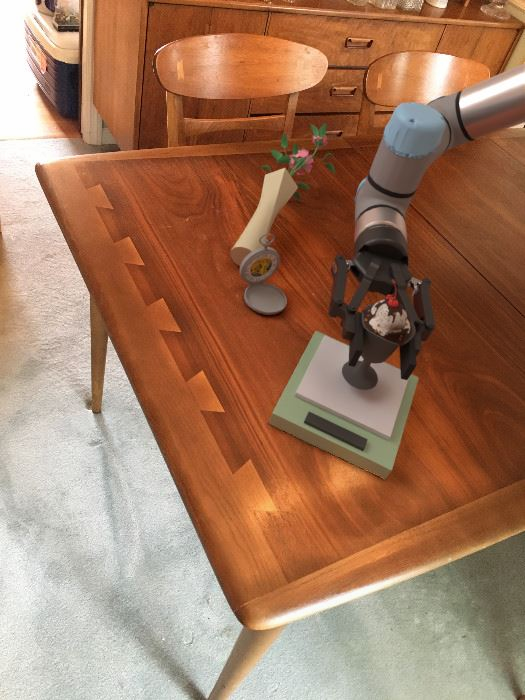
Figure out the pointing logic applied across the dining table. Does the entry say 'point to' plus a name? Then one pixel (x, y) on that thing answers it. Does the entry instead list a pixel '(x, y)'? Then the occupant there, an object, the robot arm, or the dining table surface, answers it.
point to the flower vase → (277, 193)
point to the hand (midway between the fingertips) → (382, 365)
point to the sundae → (379, 339)
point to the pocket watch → (259, 293)
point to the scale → (345, 407)
